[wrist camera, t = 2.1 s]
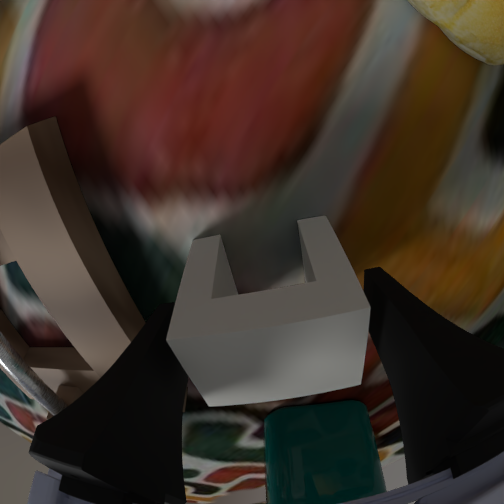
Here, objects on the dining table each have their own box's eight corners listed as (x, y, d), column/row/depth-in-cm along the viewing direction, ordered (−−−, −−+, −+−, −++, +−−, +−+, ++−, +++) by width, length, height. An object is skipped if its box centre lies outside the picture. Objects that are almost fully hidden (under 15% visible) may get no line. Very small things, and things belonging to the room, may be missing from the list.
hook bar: (77, 409, 15) (72, 425, 14) (64, 407, 16) (59, 423, 14) (-54, 235, 8) (-71, 250, 7) (-62, 241, 8) (-77, 255, 7)
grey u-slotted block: (330, 289, 14) (360, 384, 9) (217, 308, 15) (209, 406, 10) (325, 215, 12) (370, 307, 7) (192, 239, 12) (166, 339, 8)
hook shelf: (187, 388, 19) (180, 452, 14) (37, 382, 20) (20, 424, 16) (55, 116, 9) (-30, 150, 5) (-73, 215, 11) (-113, 252, 6)
